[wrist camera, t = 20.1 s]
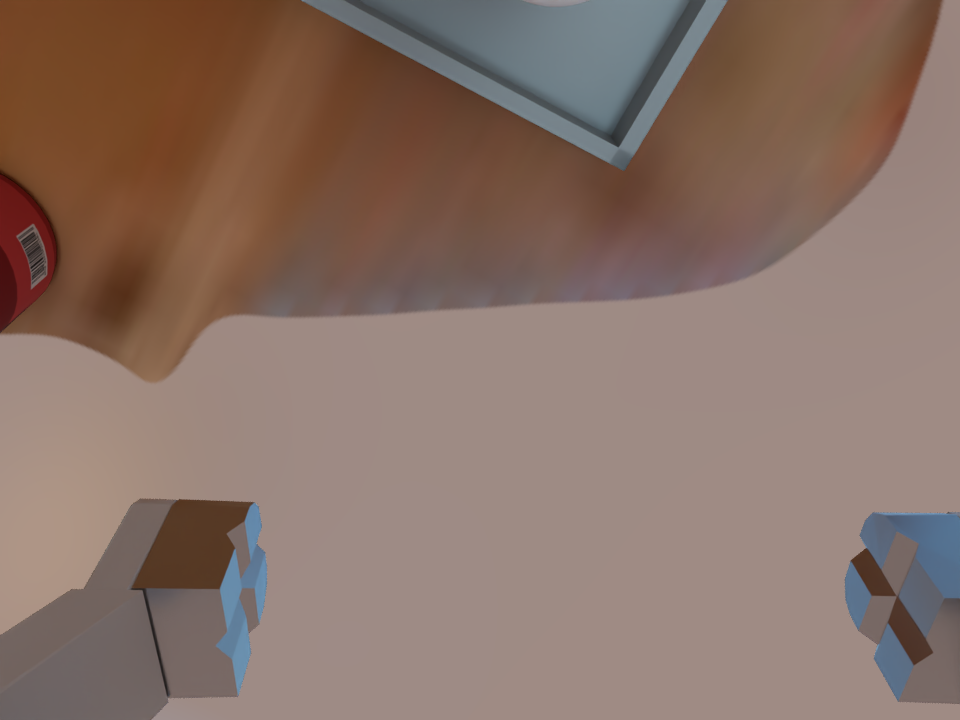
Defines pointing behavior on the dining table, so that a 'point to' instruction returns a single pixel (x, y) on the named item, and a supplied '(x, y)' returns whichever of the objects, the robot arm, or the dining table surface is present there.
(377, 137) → the dining table surface
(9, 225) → the canned food
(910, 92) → the dining table surface
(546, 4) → the supplement bottle
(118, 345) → the dining table surface
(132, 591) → the robot arm
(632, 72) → the tray
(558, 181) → the dining table surface
